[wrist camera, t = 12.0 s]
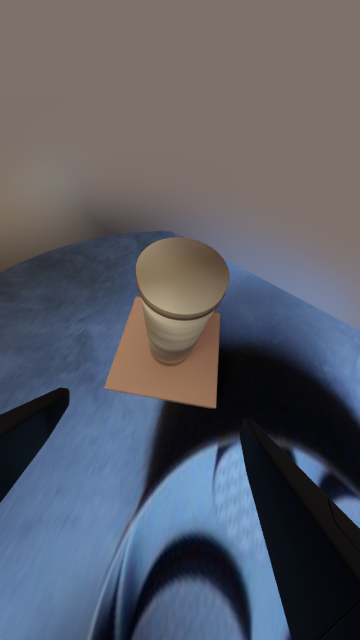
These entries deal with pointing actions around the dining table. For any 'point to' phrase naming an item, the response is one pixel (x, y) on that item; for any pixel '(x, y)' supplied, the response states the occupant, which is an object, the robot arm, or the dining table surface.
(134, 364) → the terracotta plinth
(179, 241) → the birch column
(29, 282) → the dining table surface
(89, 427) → the dining table surface
